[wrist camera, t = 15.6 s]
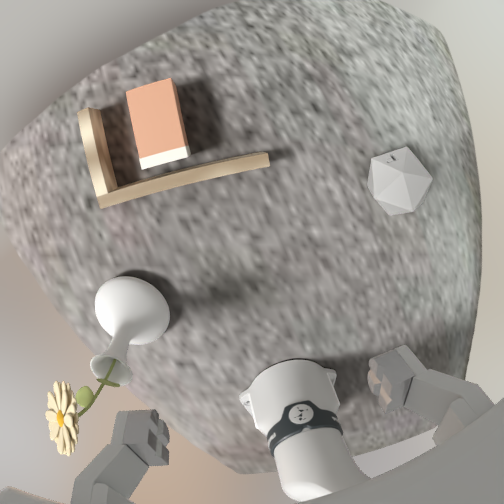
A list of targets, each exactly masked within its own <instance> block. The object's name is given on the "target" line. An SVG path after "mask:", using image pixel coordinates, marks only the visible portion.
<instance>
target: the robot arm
mask: <svg viewBox="0 0 504 504" xmlns="http://www.w3.org/2000/svg"><path fill="white" fill-rule="evenodd" d="M369 366H370V368H371V369H370V371H369V372H368V377H367V379H368V385H369V387H370V390H371V391H372V393H373V394H374V395H376V396H379V399H378V403H379V405H380V407H381V408H382V410H383V412H384V413H385V414H387V413H389V412H391V411H394V410H396V409H398V408H401V407H403V406H404V407H405V408H406V409H408V410H410V411H412V412H414V413H416V414H417V415H419V416H421V417H423V418H425V419H427V420H429V421H431V422H433V423H435V424H436V425H438V428H437V430H436V431H435V433H434V435H433V438H432V439H433V440H434V442H435V444H436V445H437V446H436V447H434V448H432V449H430V450H429V451H427V452H425V453H423V454H422V455H420V456H418V457H416V458H414V459H412V460H410V461H408V462H407V463H404V464H403V465H400V466H398V467H396V468H394V469H392V470H390V471H388V472H386V473H384V474H381V475H379V476H376V477H374V478H372V479H371V478H370V477H368V476H366V474H364V473H363V472H362V471H361V470H360V469H359V467H358V466H357V465H356V463H355V461H354V459H353V458H352V456H351V454H350V452H349V450H348V448H347V446H346V444H345V442H344V439H343V437H342V435H343V431H342V428H341V424H340V421H339V420H338V418H337V416H336V413H337V411H338V407H339V406H340V402H339V400H338V397H337V394H336V392H335V389H334V383H335V380H336V376H337V375H336V372H335V370H333V369H327V368H323V367H321V366H320V365H318V364H317V363H315V362H312V361H308V360H290V361H285V362H281V363H278V364H276V365H274V366H271V367H269V368H268V369H266V370H264V371H263V372H262V373H260V374H259V375H258V376H257V377H256V378H255V380H254V381H253V383H252V384H251V386H250V387H249V388H248V389H247V390H245V391H244V392H242V393H241V394H240V395H239V399H240V402H241V403H242V404H243V405H244V407H245V408H246V409H247V410H248V412H249V413H250V414H251V415H252V417H253V418H254V422H255V426H256V428H257V429H259V430H260V431H261V432H262V433H263V434H264V435H265V436H266V437H267V440H268V447H269V450H270V452H271V455H272V456H273V457H274V458H275V461H276V465H277V469H278V474H279V477H280V481H281V486H282V489H283V491H284V492H285V493H286V494H287V495H288V496H289V497H290V498H292V499H294V500H296V501H300V502H299V503H295V504H504V398H503V399H501V400H500V401H499V402H498V403H497V404H496V405H494V403H493V402H492V401H491V400H490V398H489V397H488V396H487V395H486V394H485V393H484V391H483V390H482V389H481V388H480V387H479V386H478V384H474V383H471V382H468V381H465V380H462V379H459V378H456V377H453V376H450V375H447V374H444V373H441V372H438V371H436V370H433V369H429V370H427V369H426V368H425V367H424V365H423V364H422V363H421V362H420V361H419V359H418V358H417V357H416V356H415V355H414V353H413V352H412V351H411V350H410V349H409V348H408V346H406V345H402V346H400V347H397V348H395V349H392V350H389V351H387V352H385V353H382V354H380V355H377V356H375V357H372V358H371V359H370V360H369ZM168 443H169V430H168V427H167V425H166V423H165V422H164V421H163V420H161V419H159V414H158V412H157V411H156V410H155V409H154V410H138V411H137V410H136V411H119V412H118V413H117V415H116V419H115V424H114V429H113V434H112V439H111V444H107V446H106V447H105V448H104V449H103V450H102V451H101V452H100V453H99V454H98V455H97V456H96V457H95V458H94V460H92V462H91V463H90V464H89V465H88V466H87V467H86V468H85V469H84V470H83V471H82V472H81V473H80V474H79V476H77V477H76V479H75V482H74V487H73V492H72V498H71V504H135V503H134V502H132V501H130V500H129V498H130V496H131V495H132V493H133V492H134V490H135V489H136V487H137V485H138V484H139V482H140V481H141V479H142V478H143V476H144V475H145V473H146V471H147V470H148V468H149V466H162V465H169V451H168V449H167V448H166V446H167V444H168ZM0 504H64V503H60V502H56V501H52V500H49V499H46V498H42V497H39V496H36V495H33V494H30V493H27V492H25V491H22V490H19V489H17V488H14V487H9V486H8V487H5V488H3V489H2V490H1V491H0Z"/></svg>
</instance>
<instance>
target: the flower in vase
mask: <svg viewBox="0 0 504 504" xmlns="http://www.w3.org/2000/svg"><path fill="white" fill-rule="evenodd" d="M95 311H96V315H97V318H98V320H99V322H100V324H101V326H102V327H103V328H104V329H105V330H106V331H107V332H108V333H109V334H110V335H111V336H113V339H112V341H111V343H110V345H109V347H108V348H107V350H106V351H105V352H104V353H103V354H99V355H96V356H95V357H93V358H92V360H91V362H90V367H91V370H92V372H93V373H94V375H95V376H96V377H97V378H98V379H97V381H99V382H101V383H102V384H101V385H100V387H99V389H98V391H97V392H96V394H95V395H93V392H92V391H91V389H90V388H89V387H88V386H84V387H82V388H80V389H79V390H78V392H77V393H76V398H74V393H73V391H72V390H71V387H70V384H69V383H67V385H66V384H65V382H64V381H62V384H60V382H58V381H55V383H54V394H55V397H54V396H53V394H52V393H51V392H50V391H49V392H48V399H49V401H48V408H49V409H50V410H48V411H46V418H47V420H49V421H50V422H49V429H50V430H51V432H50V439H51V440H52V441H53V440H55V442H56V443H57V449H58V452H59V453H60V454H61V455H62V454H63V453H64V454H67V455H68V456H70V455H71V452H72V453H73V452H74V450H75V444H77V442H78V437H77V434H78V433H79V426H78V424H77V423H78V421H79V420H78V419H79V417H80V416H81V415H83V414H84V413H85V412H86V411H87V410H88V409H89V408H90V407H91V405H92V404H93V403H94V401H95V399H96V398H97V396H98V395H99V393H100V391H101V390H102V388H103V386H104V385H108V386H113V387H119V386H124V385H127V384H128V383H130V382H131V380H132V371H131V369H130V367H129V366H128V364H127V350H128V346H129V344H135V345H141V344H147V343H150V342H153V341H155V340H156V339H158V338H159V337H160V336H161V335H162V334H163V333H164V332H165V331H166V329H167V327H168V325H169V321H170V311H169V307H168V304H167V302H166V300H165V298H164V297H163V295H162V294H161V293H160V292H159V291H158V290H157V289H156V288H155V287H154V286H152V285H151V284H149V283H148V282H146V281H144V280H141V279H138V278H135V277H129V276H121V277H115V278H112V279H110V280H108V281H106V282H105V283H104V284H103V285H102V286H101V287H100V288H99V290H98V292H97V294H96V298H95ZM77 403H78V404H79V405H80V406H82V407H85V408H84V409H83V410H82V411H81V412H79V413H78V414H77V412H76V410H77Z"/></svg>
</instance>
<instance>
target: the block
mask: <svg viewBox="0 0 504 504" xmlns="http://www.w3.org/2000/svg"><path fill="white" fill-rule="evenodd" d="M126 95H127V101H128V106H129V111H130V116H131V121H132V126H133V131H134V135H135V140H136V144H137V148H138V153H139V157H140V159H139V160H140V164H141V168H142V170H143V169H146V168H149V167H153V166H156V165H160V164H163V163H167V162H171V161H175V160H178V159H182V158H186V157H189V156H190V155H191V153H190V148H189V145H188V141H187V136H186V132H185V127H184V122H183V118H182V113H181V108H180V103H179V98H178V93H177V88H176V85H175V84H174V82H173V80H172V79H171V78H168V79H165V80H161V81H158V82H154V83H151V84H147V85H144V86H141V87H138V88H135V89H132V90H129V91H126Z"/></svg>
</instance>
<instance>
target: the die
mask: <svg viewBox="0 0 504 504" xmlns="http://www.w3.org/2000/svg"><path fill="white" fill-rule="evenodd" d="M432 180H433V178H432V177H431V175H430V174H429V173H428V171H427V170H426V169H425V167H424V166H423V165H422V164H421V162H420V161H419V160H418V159H417V158H416V156H415V155H414V154H413V153H412V151H411V150H410V149H409V148H408V147H404V148H401V149H398V150H394V151H391V152H389V153H386V154H383V155H380V156H377V157H374V158H371V164H370V171H369V177H368V182H367V187H368V188H369V190H370V192H371V194H372V195H373V197H374V199H375V200H376V201H377V202H378V203H379V204H380V205H381V206H382V208H383V209H384V210H385V211H386V212H387V213H388V214H389V215H396V214H402V213H408V212H413V211H415V210H416V209H417V208H418V207H420V206H421V205H422V204H423V202H424V200H425V197H426V195H427V192H428V190H429V187H430V185H431V182H432Z"/></svg>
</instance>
